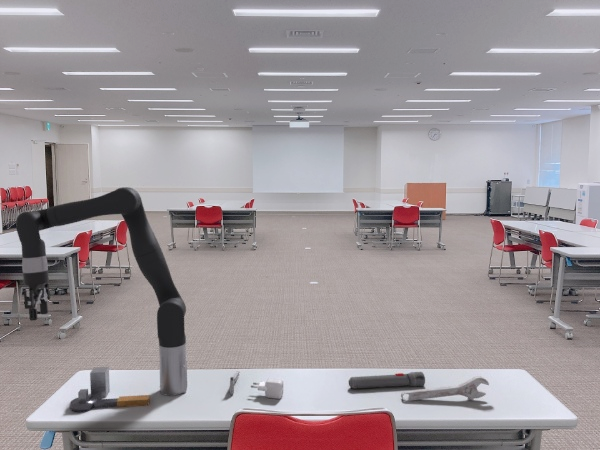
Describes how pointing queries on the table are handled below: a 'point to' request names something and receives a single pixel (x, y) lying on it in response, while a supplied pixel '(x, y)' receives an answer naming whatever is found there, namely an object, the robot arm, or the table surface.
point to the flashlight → (388, 380)
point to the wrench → (449, 390)
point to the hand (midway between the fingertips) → (39, 316)
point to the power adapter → (271, 388)
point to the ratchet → (105, 401)
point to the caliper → (233, 382)
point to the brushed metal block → (99, 382)
